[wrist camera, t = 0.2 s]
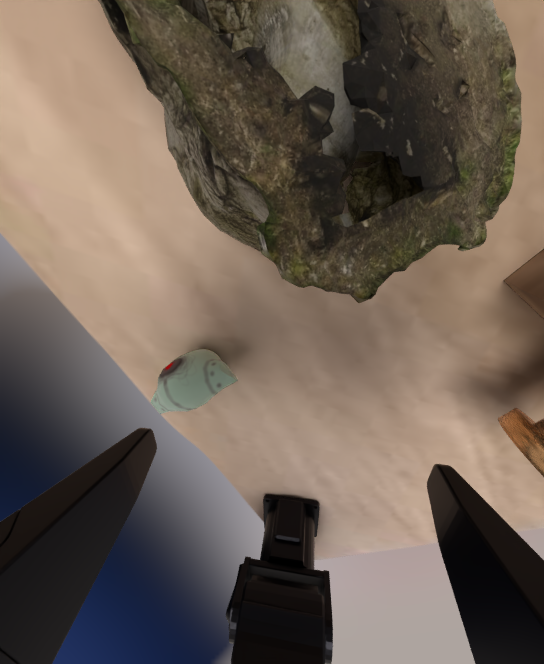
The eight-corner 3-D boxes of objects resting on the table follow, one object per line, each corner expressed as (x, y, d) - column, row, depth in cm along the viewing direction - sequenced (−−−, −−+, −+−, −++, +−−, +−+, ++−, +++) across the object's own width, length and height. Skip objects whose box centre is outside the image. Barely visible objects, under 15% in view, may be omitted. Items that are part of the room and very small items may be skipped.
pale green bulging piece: (188, 385, 28) (152, 439, 22) (161, 353, 27) (116, 400, 21) (255, 354, 25) (235, 406, 19) (229, 317, 24) (199, 359, 18)
